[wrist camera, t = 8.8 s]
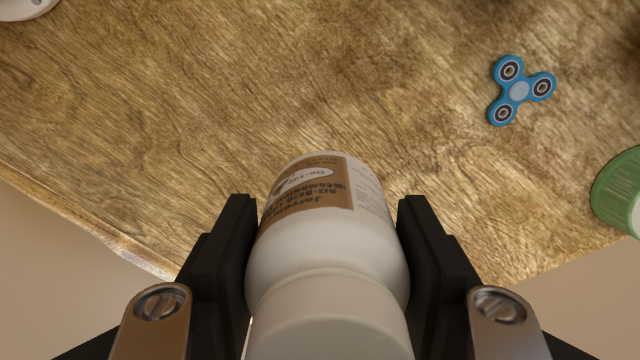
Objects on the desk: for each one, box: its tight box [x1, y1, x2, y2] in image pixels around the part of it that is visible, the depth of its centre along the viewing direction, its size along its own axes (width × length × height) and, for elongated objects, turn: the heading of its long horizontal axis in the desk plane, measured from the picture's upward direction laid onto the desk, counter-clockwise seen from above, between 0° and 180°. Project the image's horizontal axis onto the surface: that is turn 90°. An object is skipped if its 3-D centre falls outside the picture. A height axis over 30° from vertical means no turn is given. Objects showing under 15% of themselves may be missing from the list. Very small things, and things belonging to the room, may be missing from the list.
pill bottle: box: [244, 150, 415, 360], centre depth 11 cm, size 4×4×8 cm
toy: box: [487, 55, 556, 126], centre depth 31 cm, size 6×6×1 cm
